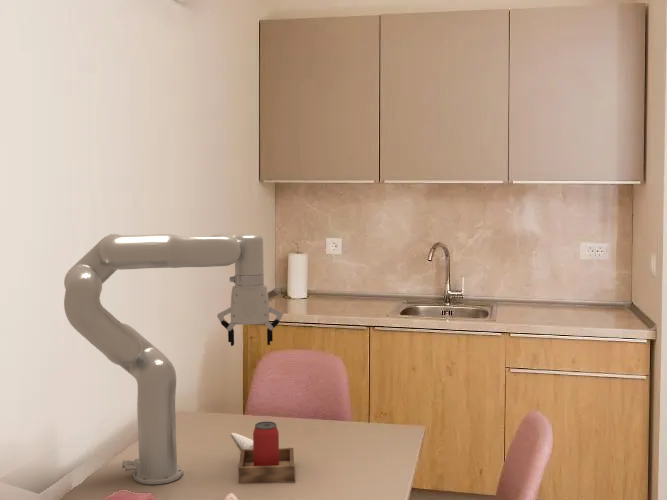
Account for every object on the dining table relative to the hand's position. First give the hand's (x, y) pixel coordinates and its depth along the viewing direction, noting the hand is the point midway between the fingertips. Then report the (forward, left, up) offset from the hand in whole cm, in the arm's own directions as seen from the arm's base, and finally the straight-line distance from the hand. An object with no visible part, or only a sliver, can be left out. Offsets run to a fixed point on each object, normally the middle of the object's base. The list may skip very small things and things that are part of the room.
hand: (250, 344), depth 212 cm
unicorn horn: (-3, +12, -33) cm, 35 cm away
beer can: (+4, -8, -32) cm, 33 cm away
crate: (+4, -8, -32) cm, 34 cm away
